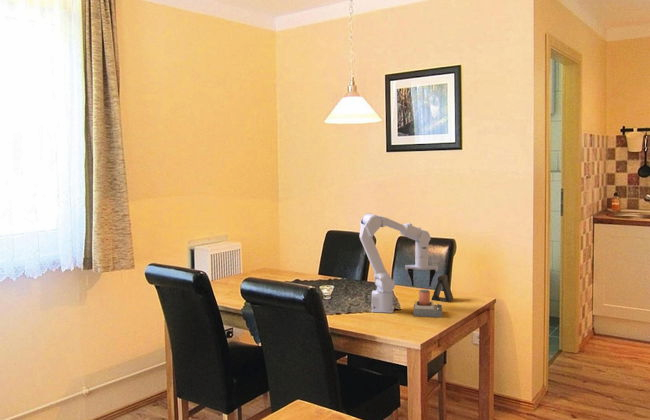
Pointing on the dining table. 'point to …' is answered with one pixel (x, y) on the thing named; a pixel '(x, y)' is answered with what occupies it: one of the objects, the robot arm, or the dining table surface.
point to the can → (424, 297)
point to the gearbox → (427, 310)
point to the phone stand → (446, 288)
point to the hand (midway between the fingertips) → (421, 285)
